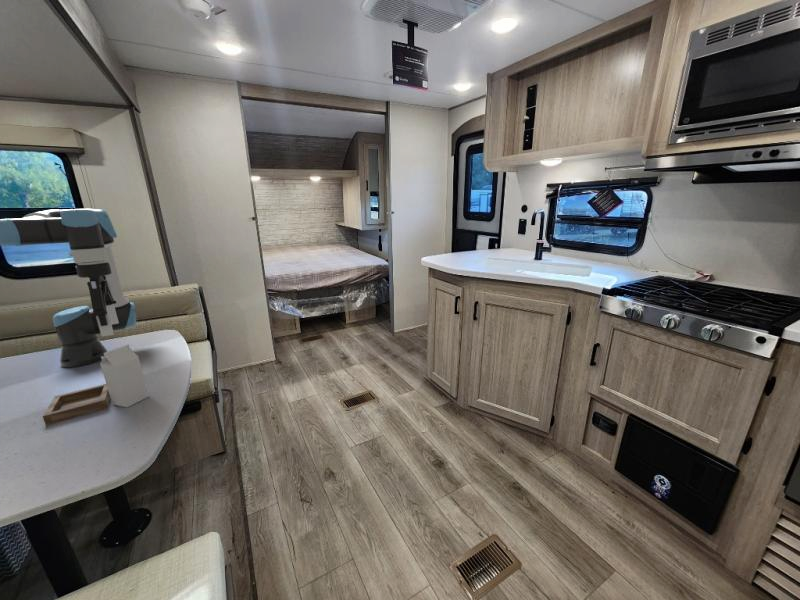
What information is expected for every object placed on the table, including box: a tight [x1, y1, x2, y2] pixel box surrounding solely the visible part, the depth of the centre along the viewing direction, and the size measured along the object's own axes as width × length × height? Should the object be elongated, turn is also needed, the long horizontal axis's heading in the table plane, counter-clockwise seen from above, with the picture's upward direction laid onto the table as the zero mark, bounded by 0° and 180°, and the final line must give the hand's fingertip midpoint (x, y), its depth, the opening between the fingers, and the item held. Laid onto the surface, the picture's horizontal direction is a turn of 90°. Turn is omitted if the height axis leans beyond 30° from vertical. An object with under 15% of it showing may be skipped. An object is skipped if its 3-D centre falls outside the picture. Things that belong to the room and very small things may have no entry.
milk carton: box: [99, 344, 149, 408], centre depth 106 cm, size 7×7×19 cm
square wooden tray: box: [42, 383, 111, 426], centre depth 105 cm, size 14×14×3 cm
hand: (110, 329), depth 102 cm, fingers open, 13 cm apart
